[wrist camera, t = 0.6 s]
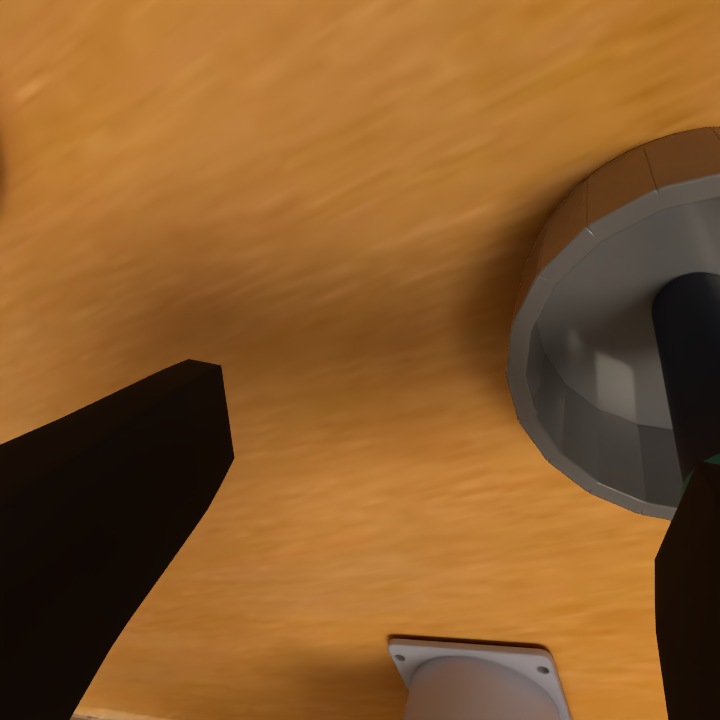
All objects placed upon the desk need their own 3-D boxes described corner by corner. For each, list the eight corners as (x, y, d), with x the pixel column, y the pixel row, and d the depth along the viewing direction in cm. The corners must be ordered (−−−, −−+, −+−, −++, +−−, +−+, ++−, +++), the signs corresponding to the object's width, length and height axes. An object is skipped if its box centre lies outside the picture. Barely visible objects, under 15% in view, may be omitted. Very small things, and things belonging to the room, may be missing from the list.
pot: (898, 417, 17) (971, 523, 14) (554, 443, 21) (547, 528, 18) (919, 66, 13) (1030, 99, 10) (488, 183, 17) (465, 233, 14)
